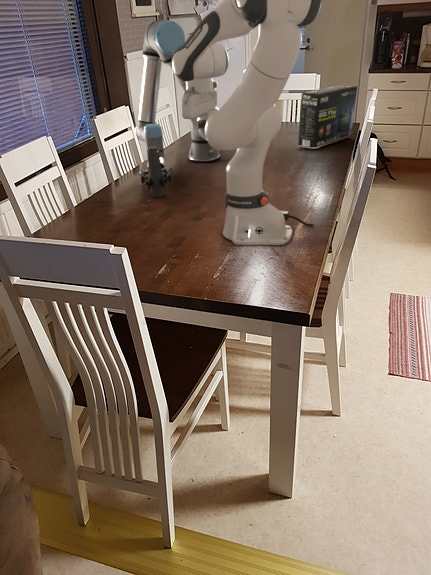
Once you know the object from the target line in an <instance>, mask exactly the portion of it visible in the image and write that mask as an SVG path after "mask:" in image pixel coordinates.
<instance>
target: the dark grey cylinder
mask: <svg viewBox="0 0 431 575" xmlns="http://www.w3.org/2000/svg"><path fill="white" fill-rule="evenodd" d="M146 157H148V158H147V167H148V166H149V175H150V183H151V187H150V191H151V197H152V198H163V197H164V196H165V195H164V188H163V187H162V174H161V164H160V153H159V151H158V147H156V146H152V147H148V151H147V150H146Z"/></svg>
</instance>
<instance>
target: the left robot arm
mask: <svg viewBox="0 0 431 575" xmlns="http://www.w3.org/2000/svg"><path fill="white" fill-rule="evenodd" d="M185 37H186V33H185V31H184V29H183V28H182V26H181V25H180V24H179V23H177V22H175V21H173V20H170V19H164V20H154V21H152V22H150V24H148V26H147V27H146V29H145V33H144V38H143V46H142V47H143V48H142V58H144V61H143V72H142V79H141V80H142V81H141V91H140V101H139V112H138V120H137V124H136V125H135V128H134V134H135V136H136V137H137V138H138V140H140V141H142V142H143V143H144V144H145V148H146V152H147V151H148V147H152V146H156V147H158V151H159V153H160V164H161V174H162V187H163V189H165V184H168V182H172V181H173V180H172V179H173V178H172V175H173V168H172V167H169V168H166V157H165V156H166V155H165V151H164V150H165V149H164V138H163V135H164V134H163V129H162V128H163V127H162V125H161V124H160V123H156V119H157V118H156V117H157V110H158V109H157V108H158V100H159V94H160V93H159V92H160V86H161V78H162V77H161V76H162V70H163V69H162V68H163V64H164V65H166V66H169V68H170V70H171V72H172V74H173V75H174V77H175V80H176V81H177V83H178V84H179V86H180V88H181V90H182V93H183V94H184V93H185V90H186V82H183V81H182V80H180V79H179V78H178V77H177V76H176V75H175V73H174V72H173V69H172V56H173V54H174V52H175V50H176V49H177V48H178V47H179V46H181V45H183V44H184V43H185ZM219 109H220V108H219V107H218V106H216V109H215V110H212V111H210V112H209V117H210V116H211V115H213V114H214V113H216V112H217V111H218V110H219ZM198 120H203V115H200V116H198ZM189 123H190V137H191V145H190V149H189V152H188V160H189V161H190V162H192V163H198V164H200V163H201V164H202V163H204V164H205V163H212V162H217V161H218V160H220V159H221V157H220V156H221V155H220V154H221V153H220V150H215V149H214V148H212V147H211V146H210V144H209V143H208V141H207V139H206V136H205V128H199V129H198V130H194V129H193V124H192V121H191V119H189ZM146 157H147V156H146ZM147 159H148V157H147ZM139 175H140V181H141V182H140V183H141V184H144V183H145V186H147V188H148V190H151V183H150V175H149V166H148V165H147V168H146V170H144V169H143V170H142V169H140V170H139Z"/></svg>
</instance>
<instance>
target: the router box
mask: <svg viewBox="0 0 431 575" xmlns="http://www.w3.org/2000/svg"><path fill="white" fill-rule="evenodd" d="M357 93H358V86H356V85H350V84H339V85H338V84H337V85H334V86H328V87H324V88H318V89H314V90H309V91H304V92H301V93H300V109H299V110H300V111H299V124H298V137H297V146H298V145H302V146H307V147H317V146H320V145H323V144H325V143H328V142H331V141H333V140H336V139H338V138H341V137H344V136H347V135H351V136H352V133H353V132H352V131H353V125H354V115H355V109H356V99H357ZM311 151H313V150H312V149H311Z"/></svg>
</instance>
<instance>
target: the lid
mask: <svg viewBox="0 0 431 575" xmlns="http://www.w3.org/2000/svg"><path fill="white" fill-rule="evenodd" d="M197 121H198V124H199V127H200V128H205V125H206V122H207V121H206V120H197Z"/></svg>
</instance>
